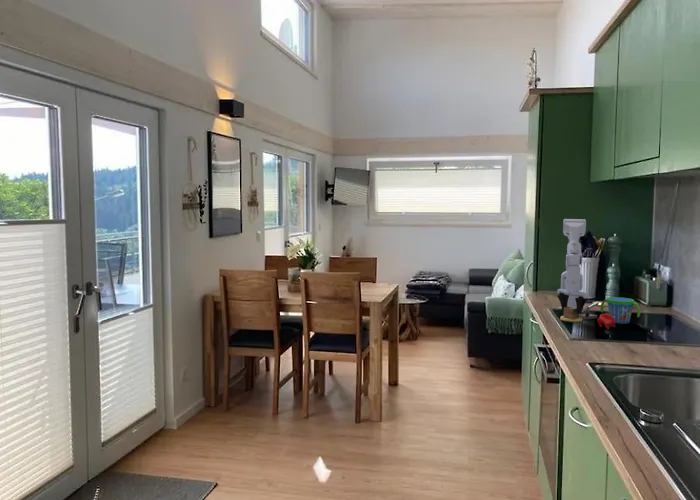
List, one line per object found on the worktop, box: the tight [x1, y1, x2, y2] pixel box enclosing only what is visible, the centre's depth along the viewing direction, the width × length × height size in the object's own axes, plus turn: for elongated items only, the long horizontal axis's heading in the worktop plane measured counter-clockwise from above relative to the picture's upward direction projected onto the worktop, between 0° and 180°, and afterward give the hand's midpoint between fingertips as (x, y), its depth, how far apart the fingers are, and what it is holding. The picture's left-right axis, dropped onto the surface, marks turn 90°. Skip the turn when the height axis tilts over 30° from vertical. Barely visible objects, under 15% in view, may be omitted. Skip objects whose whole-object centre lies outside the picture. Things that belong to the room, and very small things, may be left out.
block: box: [563, 306, 579, 319], centre depth 243 cm, size 4×4×4 cm
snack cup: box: [600, 296, 641, 325], centre depth 239 cm, size 16×10×10 cm
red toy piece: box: [596, 312, 616, 330], centre depth 229 cm, size 8×6×6 cm
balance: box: [559, 301, 608, 323], centre depth 248 cm, size 30×9×7 cm, turn 120°
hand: (571, 312), depth 243 cm, fingers open, 7 cm apart
